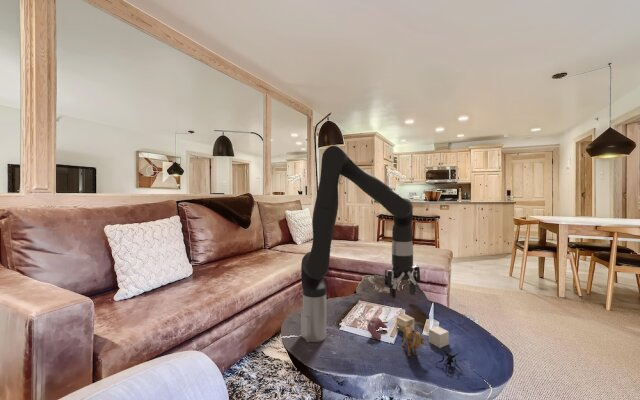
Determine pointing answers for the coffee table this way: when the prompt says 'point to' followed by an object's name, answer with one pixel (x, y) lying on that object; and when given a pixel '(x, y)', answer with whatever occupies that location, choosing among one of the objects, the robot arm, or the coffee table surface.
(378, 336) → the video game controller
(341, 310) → the coffee table surface
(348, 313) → the coffee table surface
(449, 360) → the creature
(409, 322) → the birch block
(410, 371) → the coffee table surface
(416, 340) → the lion figurine
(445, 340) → the beige block
